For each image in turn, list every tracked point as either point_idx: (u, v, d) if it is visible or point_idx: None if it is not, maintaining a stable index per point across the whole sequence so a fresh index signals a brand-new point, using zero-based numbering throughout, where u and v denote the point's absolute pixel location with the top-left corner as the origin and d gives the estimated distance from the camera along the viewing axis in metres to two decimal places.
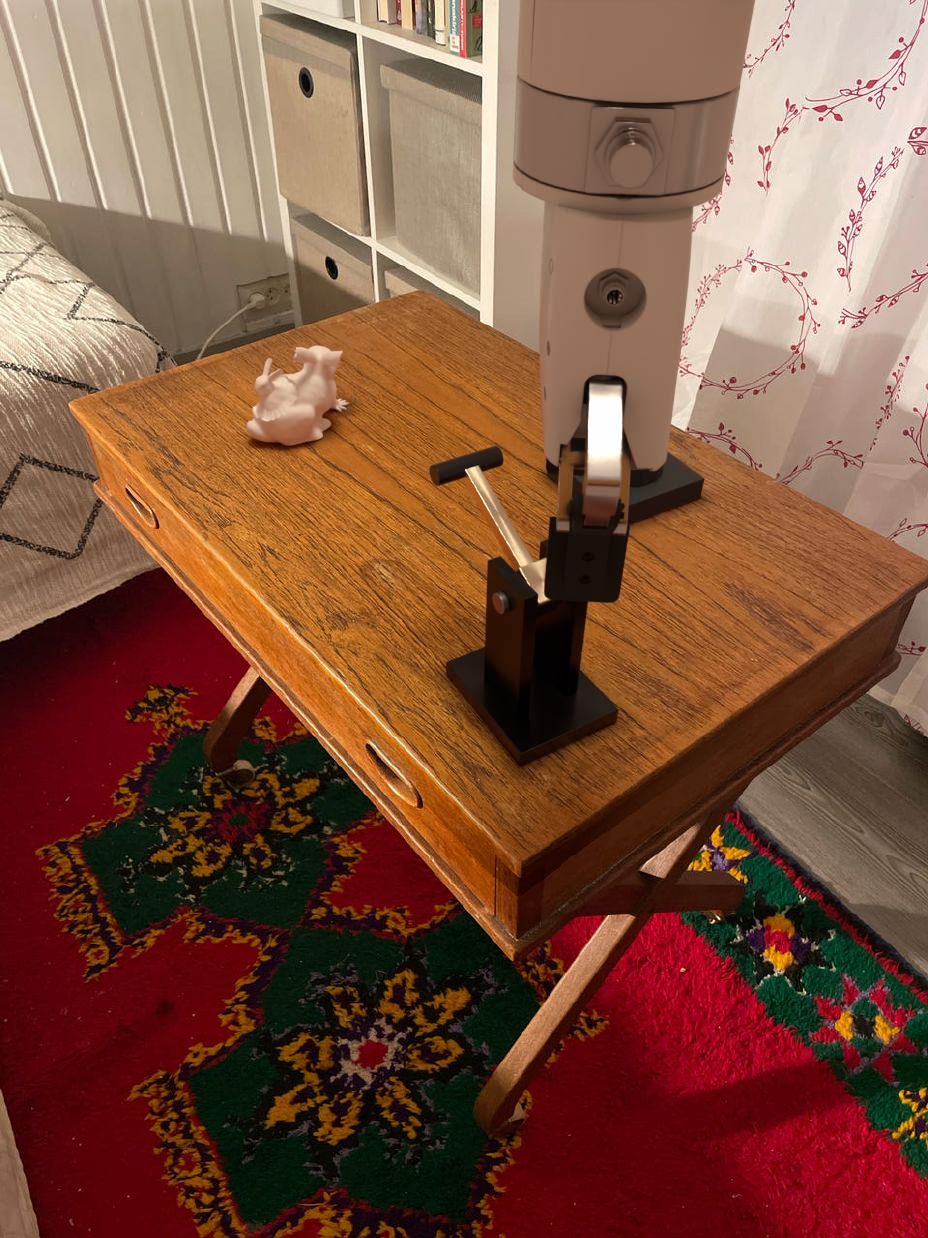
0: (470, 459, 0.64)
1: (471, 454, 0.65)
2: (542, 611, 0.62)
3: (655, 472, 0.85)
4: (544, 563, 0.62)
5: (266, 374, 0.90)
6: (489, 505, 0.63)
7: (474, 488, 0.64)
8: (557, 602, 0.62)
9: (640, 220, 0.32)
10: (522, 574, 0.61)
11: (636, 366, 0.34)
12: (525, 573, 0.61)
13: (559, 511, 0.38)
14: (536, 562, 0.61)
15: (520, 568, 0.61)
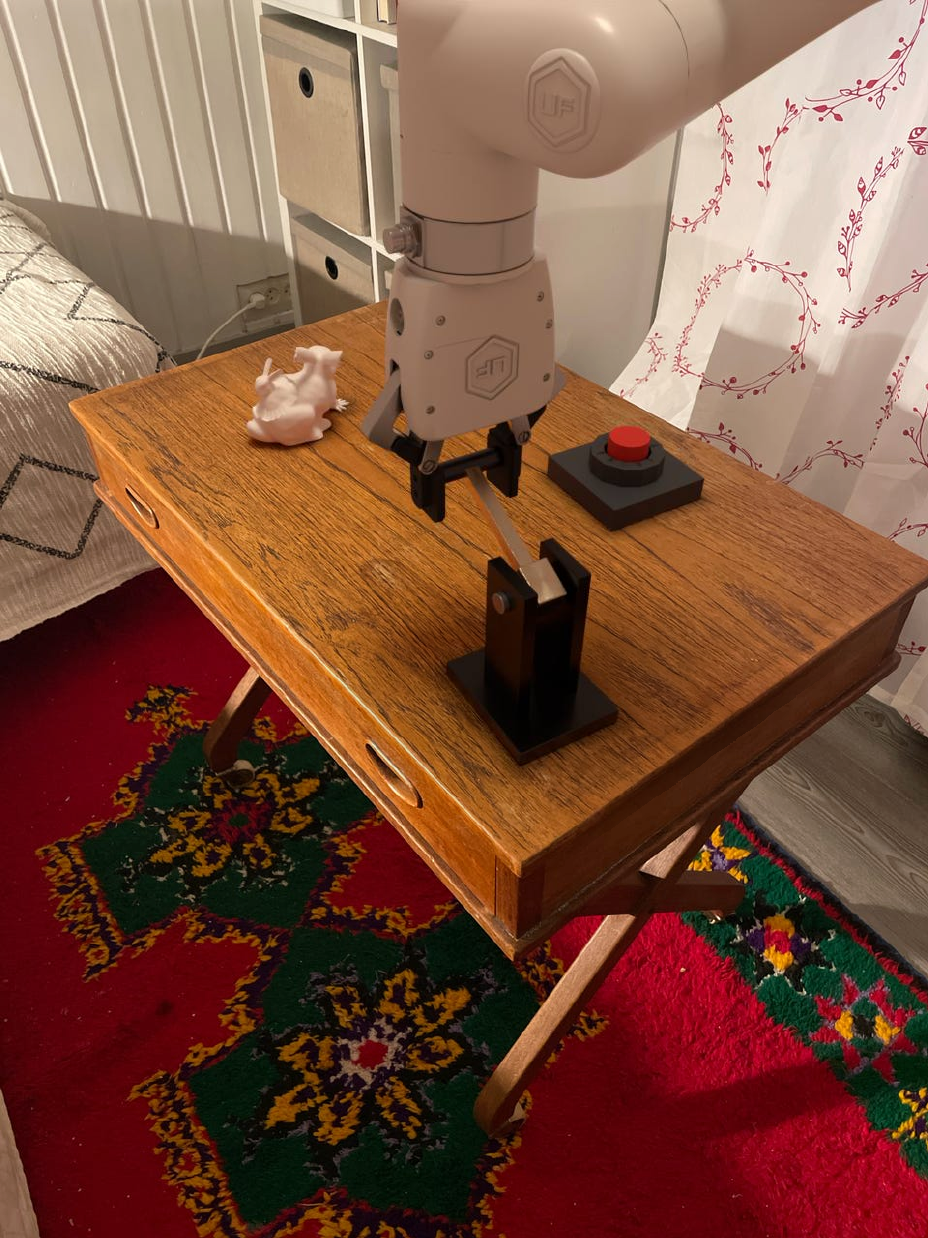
0: (470, 459, 0.64)
1: (471, 454, 0.65)
2: (542, 611, 0.62)
3: (655, 472, 0.85)
4: (544, 563, 0.62)
5: (266, 374, 0.90)
6: (489, 505, 0.63)
7: (474, 488, 0.64)
8: (557, 602, 0.62)
9: (409, 276, 0.54)
10: (522, 574, 0.61)
11: (402, 362, 0.56)
12: (525, 573, 0.61)
13: None
14: (536, 562, 0.61)
15: (520, 568, 0.61)
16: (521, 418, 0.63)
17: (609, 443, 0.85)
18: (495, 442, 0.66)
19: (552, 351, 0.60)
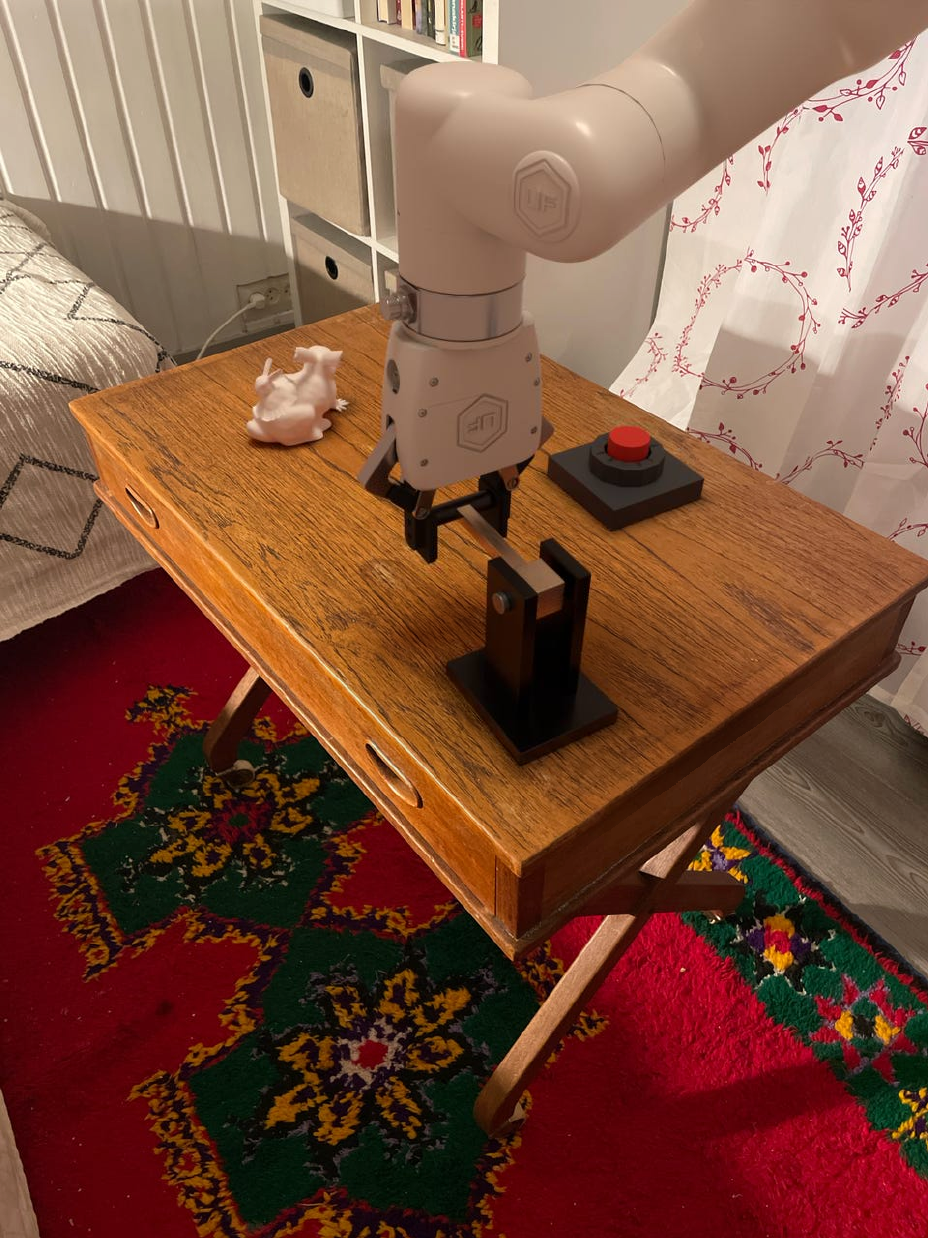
0: (460, 500, 0.68)
1: None
2: (545, 607, 0.61)
3: (655, 472, 0.85)
4: (539, 562, 0.62)
5: (266, 374, 0.90)
6: (482, 530, 0.66)
7: (466, 521, 0.67)
8: (557, 594, 0.61)
9: (404, 341, 0.57)
10: (517, 572, 0.61)
11: (398, 418, 0.60)
12: (520, 571, 0.61)
13: None
14: (531, 562, 0.62)
15: (515, 568, 0.62)
16: (510, 466, 0.67)
17: (609, 443, 0.85)
18: (486, 487, 0.69)
19: (540, 406, 0.63)
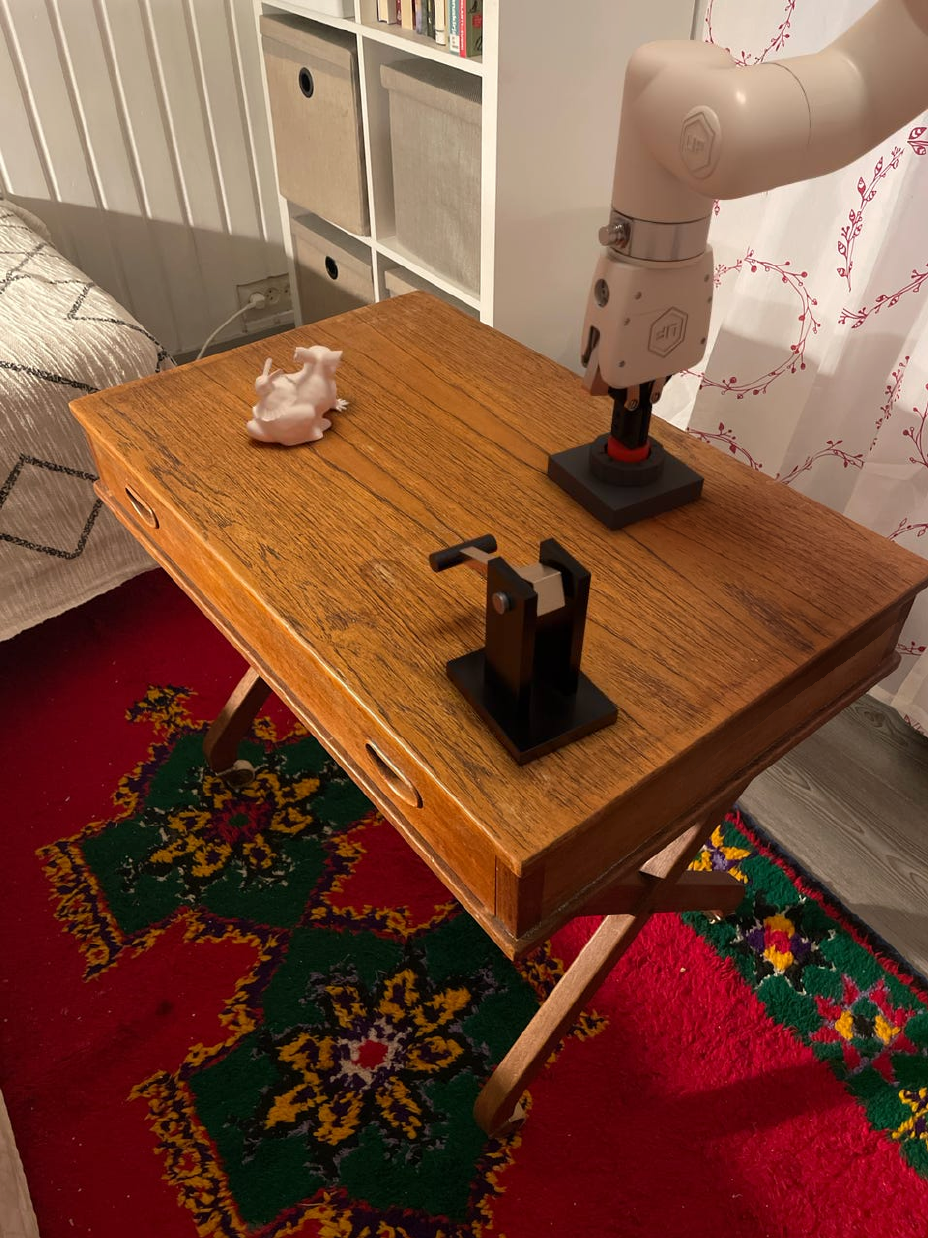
0: (462, 543, 0.70)
1: (463, 542, 0.70)
2: (546, 601, 0.61)
3: (655, 472, 0.85)
4: (535, 564, 0.63)
5: (266, 374, 0.90)
6: (483, 559, 0.67)
7: (469, 557, 0.68)
8: (556, 587, 0.61)
9: (615, 262, 0.72)
10: None
11: (603, 327, 0.75)
12: (517, 572, 0.62)
13: None
14: None
15: None
16: (661, 380, 0.81)
17: (608, 448, 0.86)
18: None
19: (709, 320, 0.78)
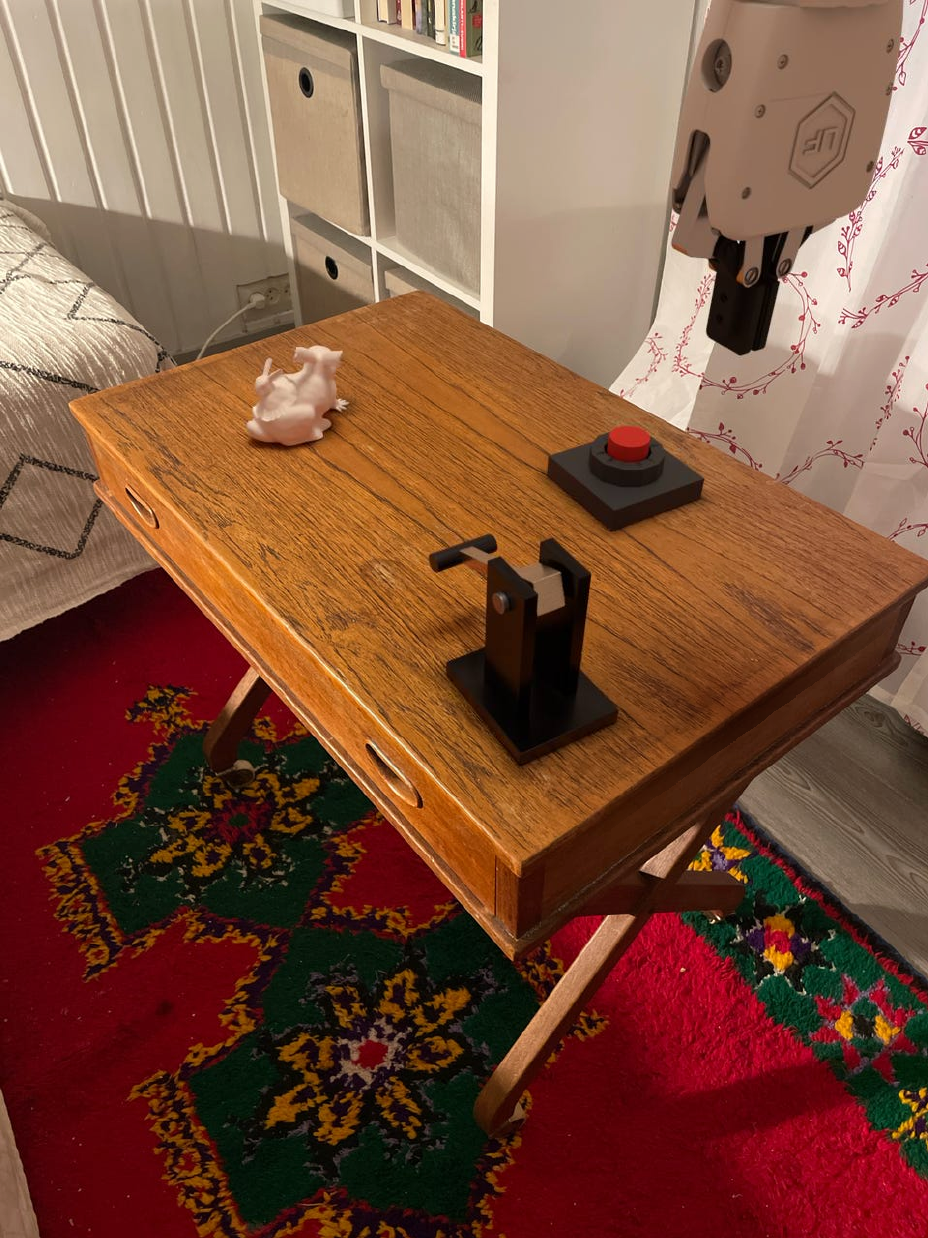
0: (462, 543, 0.70)
1: (463, 542, 0.70)
2: (546, 601, 0.61)
3: (655, 472, 0.85)
4: (535, 564, 0.63)
5: (266, 374, 0.90)
6: (483, 559, 0.67)
7: (469, 557, 0.68)
8: (556, 587, 0.61)
9: (745, 2, 0.42)
10: None
11: (717, 128, 0.44)
12: (517, 572, 0.62)
13: None
14: None
15: None
16: (797, 238, 0.51)
17: (609, 443, 0.85)
18: None
19: (883, 130, 0.48)
